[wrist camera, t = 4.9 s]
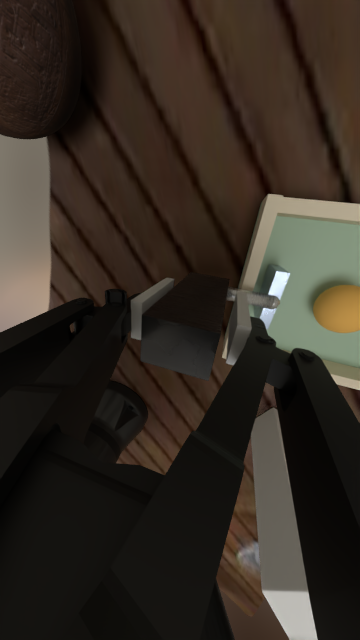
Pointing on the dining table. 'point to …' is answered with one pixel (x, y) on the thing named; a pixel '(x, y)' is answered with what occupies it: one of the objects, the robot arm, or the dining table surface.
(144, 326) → the kicker rod
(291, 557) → the milk
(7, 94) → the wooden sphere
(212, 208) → the dining table surface
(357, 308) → the ball
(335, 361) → the pitch
